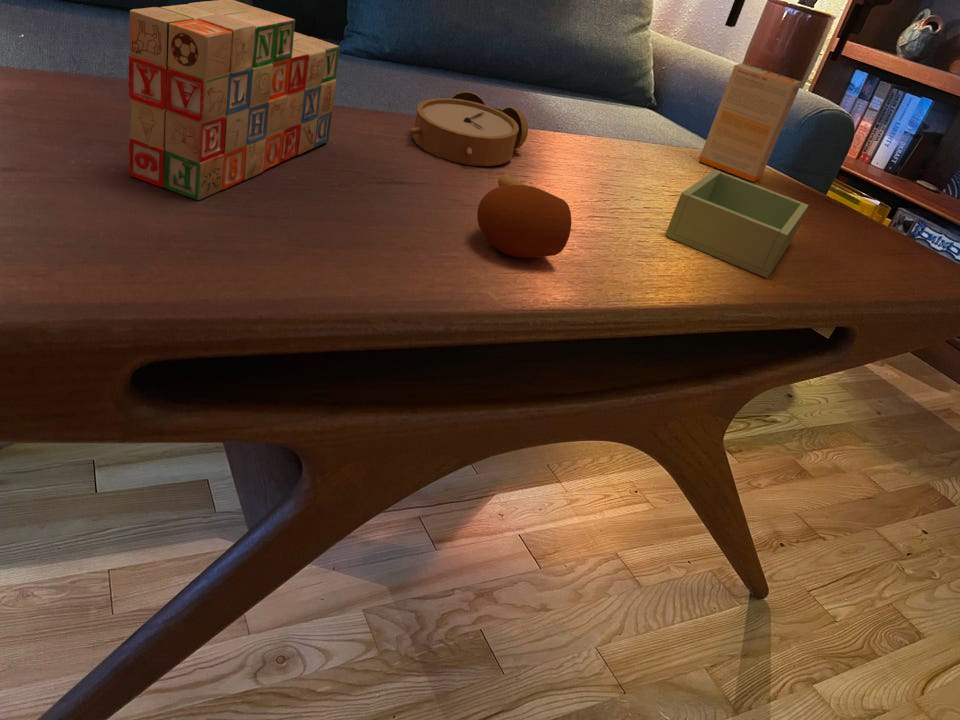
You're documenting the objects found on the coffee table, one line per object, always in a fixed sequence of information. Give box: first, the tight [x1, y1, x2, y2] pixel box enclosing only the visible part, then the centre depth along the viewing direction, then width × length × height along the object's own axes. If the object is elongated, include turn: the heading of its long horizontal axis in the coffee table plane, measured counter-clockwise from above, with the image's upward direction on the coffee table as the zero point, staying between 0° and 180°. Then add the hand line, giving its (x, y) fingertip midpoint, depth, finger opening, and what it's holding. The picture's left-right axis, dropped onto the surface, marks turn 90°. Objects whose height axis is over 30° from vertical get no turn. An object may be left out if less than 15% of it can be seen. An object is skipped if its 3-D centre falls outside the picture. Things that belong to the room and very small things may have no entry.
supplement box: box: [698, 62, 803, 183], centre depth 103 cm, size 8×5×13 cm, turn 58°
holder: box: [664, 169, 809, 279], centre depth 80 cm, size 11×14×5 cm
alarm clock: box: [408, 91, 529, 167], centre depth 86 cm, size 11×5×15 cm
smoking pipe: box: [476, 173, 572, 259], centre depth 69 cm, size 7×18×6 cm, turn 7°
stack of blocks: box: [127, 0, 341, 201], centre depth 65 cm, size 21×6×12 cm, turn 162°
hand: (780, 43), depth 98 cm, fingers open, 13 cm apart
